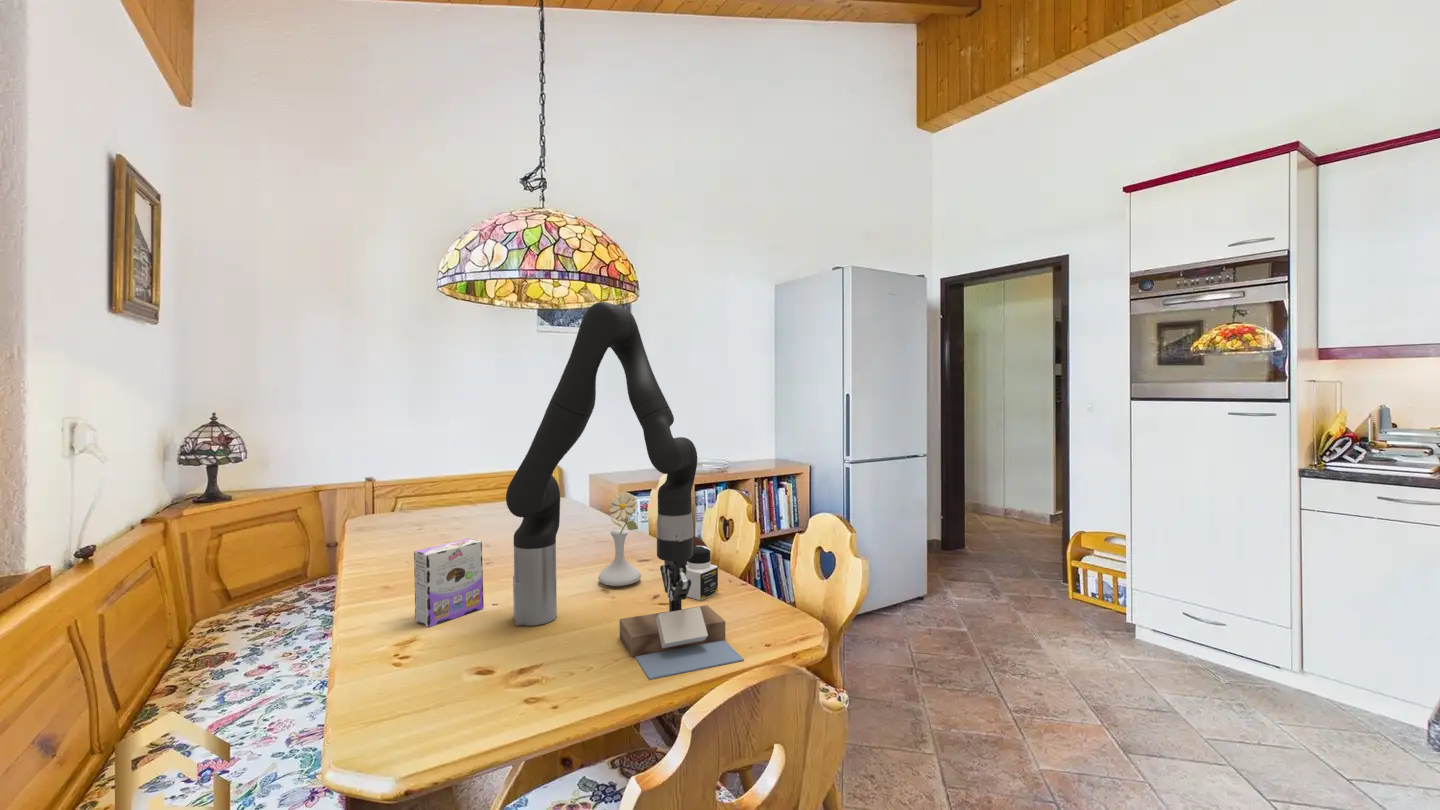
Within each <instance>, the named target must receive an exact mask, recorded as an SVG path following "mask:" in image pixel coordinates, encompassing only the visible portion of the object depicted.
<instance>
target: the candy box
mask: <svg viewBox="0 0 1440 810" xmlns="http://www.w3.org/2000/svg"><path fill="white" fill-rule="evenodd" d="M413 563H414V564H413V565H414V614H415V615H414V616H415V617H414V621H415V622H416V623H418V624H419V625H422V626H424V627H426V628H430V627H434V626H437V625H439V624H442V623H445V622H448V621H451V620H453V619H456V618H457V619H458V618H459V617H462V616H465V615H468V614H471V613H473V612H476V611H479V610H482V609H484V608H485V607H484V606H485V605H484V577H483V576H484V575H483V574H484V573H483V571H484V570H483V569H484V568H483V542H482V540H478V539H474V538H464V539H461V540H460V539H459V540H455V541H451V542H447V543H443V544H439V545H434V546H431V547H426V548H422V549H418V550H414V552H413Z"/></svg>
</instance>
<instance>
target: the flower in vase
mask: <svg viewBox="0 0 1440 810" xmlns="http://www.w3.org/2000/svg"><path fill="white" fill-rule="evenodd" d="M608 506H609V507H608V508H609V516H610V519H611V522H612V523H613V524H615V525H616V526H618V527H620V528H621V529H616V530H615V529H614V530H611V531H610V532H609V534H610V536H612V539H613V542H614V548H615V549H614V550H615V553H614V559H613V560H612V562H610V563H609V564H608V565H607V566H606V567H605V568H603V569H602V571H600V573H599V574H598V578H597V579H598V581H599V582H600V583H601V584H603V585H607V586H611V587H623V586H628V585H629V586H630V585H632V584H634V583H637V582H638V581H639V580H640V578H642V574H641V572H640V571H639V569H638V568H636V567H635V565H633V564H631V563H630V562H629V561H627V560H626V558H625V552H624V551H625V549H624V548H625V541H626V537H627V536H628V534H629V533H630V532H629V531H632V530H633V531H635V530H638V529H639V527H638V525H637V524H636V522H635V520H629V519H630V518H631V517H633V514H634V513H635V512H636V510H637V508H638V504H637V497H635V495H634V494H631V493H630V492H627V491H625V492H623V493H622V492H619V494H618V495H614V498H612V499H611V503H609V505H608ZM615 520H616V521H617V522H616V521H615ZM624 520H625V523H624V525H623V526H622V524H621V523H619V522H621V521H624ZM626 527H627V530H626V529H625V528H626Z"/></svg>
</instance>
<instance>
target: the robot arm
mask: <svg viewBox="0 0 1440 810" xmlns="http://www.w3.org/2000/svg"><path fill="white" fill-rule="evenodd" d="M576 334H577V335H576V338H575V340H574V343H573V346H572V350H571V352H570V355H569V358H568V360H567V363H566V365H565V367H564V369H563V373H562V375H561V377H560V380H559V381H558V384H557V386H556V388H555V390H554V392H553V394H552V396H551V399H550V400H549V403H548V405H547V408H546V409H545V412H544V415H543V417H542V420H541V422H540V423H539V426H538V428H537V431H536V433H535V435H534V438H533V439H532V442H531V444H530V446H529V448H528V450H527V453H526V454H525V456H524V458H523V460H522V462H521V463H520V465H519V467H518V469H517V470H516V472H515V474H514V475H513V477H512V479H511V481H509V482H510V483H509V484H508V487H507V489H506V492H505V493H506V494H505V502H506V507H507V509H508V511H510V513H511V514H512V515H513V516H515V517H517V518H523V519H522V521H521V524H520V525H519V526H518V528H517V529H516V530H515V531H514V533H513V576H512V581H513V582H512V586H513V587H512V588H513V591H512V593H513V594H512V595H513V598H512V599H513V600H512V601H513V603H512V604H513V620H514V625H515V626H516V627H517V626H529V627H530V626H541V625H545V624H547V623H550V622H552V621H554V620H555V619H556V618H557V613H558V608H557V607H558V605H557V604H558V603H557V595H558V594H557V534H558V532H559V528H560V521H561V520H560V517H561V513H560V512H561V490H560V486H559V485H560V484H559V483H558V481H557V479H556V478H555V476H553V473H554V471H555V469H556V468H557V466H558V464H559V463H560V462H561V460H562V459H563V458H564V457H565V455H567V453H568V452H569V451H571V449H572V448H573V447H574V445H575V444H576V443H577V441H578V440H579V439H580V437H581V436H582V434H583V433H584V431H585V428H586V427H587V424H588V422H589V420H590V418H591V416H592V414H593V412H594V409H595V405H596V399H597V398H596V397H597V396H596V395H597V387H596V386H597V383H596V382H597V374H598V370H599V367H600V365H601V362H602V360H603V359H604V356H605V355H606V352H607V351H608V349H609V348H610V349H611V350H612V351H613V352H614V354H615V356H616V357H617V358H618V360H619V362H620V364H621V366H622V369H623V371H624V374H625V380H626V382H625V383H626V389H627V395H628V399H629V403H630V404H631V407H632V410H633V412H634V414H635V416H636V418H637V421H638V423H639V424H640V426H641V428H642V431H643V439H644V442H645V443H644V444H645V447H646V451H647V456H648V459H649V461H650V463H651V464H652V466H653V467H654V468H655V469H656V471H658V472H659V473H661V474H663V475H666V478H665V482H664V483H662V484H661V486H660V487H658V490H657V519H656V556H657V558H658V559H659V560H661V561H663V562H664V564H663V565H660V567H659V570H660V573H661V574H660V575H661V578H662V583H663V588H664V593H667V599H668V611H669V612H672V611H678V610H682V609H683V608H682V601H683V600H686V599H687V598H688V597H687V595H688V592H689V589H690V586H691V580H690V579H689V580H686V575H687V567H686V564H685V561H686V560H687V559H690V558H691V557H692V556H693V536H694V523H693V522H694V521H693V513H692V509H693V508H692V490H693V487H694V482H695V477H696V473H697V467H698V451H697V448H696V446H695V444H694V442H693V441H692V440H690V439H689V438H687V437H683V436H679V437H673V434H672V430H671V426H672V425H673V423H674V421H675V417H674V414H673V412H672V409H671V408H670V405H669V403H668V401H667V399H666V397H665V395H664V393H663V392H662V389H661V387H660V386H659V382H658V381H657V379H656V377H655V374H654V371H653V368H652V367H651V365H650V361H649V358H648V355H647V352H646V350H645V346H644V343H643V339H642V336H641V334H640V330H639V327H638V324H637V321H636V319H635V316H634V315H633V313H632V312H631V311H629V310H628V309H626V308H625V307H622V306H619V305H616V304H614V303H610V302H607V301H599V302H596V303H594V304H592V305H590V307H589V308H588V309H587V310H586V311H585V313H584V315H583V317H582V320H581V323H580V325H579V328H578V331H577V333H576Z"/></svg>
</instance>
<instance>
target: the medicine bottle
mask: <svg viewBox="0 0 1440 810" xmlns="http://www.w3.org/2000/svg"><path fill="white" fill-rule="evenodd" d="M711 557H712V556H711V548H709V547H708V546H707V547H705V546H693V556H692V557H691V558H690V559H687V564H688V565H686V567H687V575H686V580H689V579H690V580H691V586H690V589H689V592H688V595H687V597H686V598H690V599H693V600H697V601H701V602H702V601H704V600H706V599H708V598H710V597H712V596H715V595H716V594H718V592H719V585H718V584H719V582H718V581H719V566H717V565H715V564H711V560H712V559H711Z"/></svg>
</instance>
